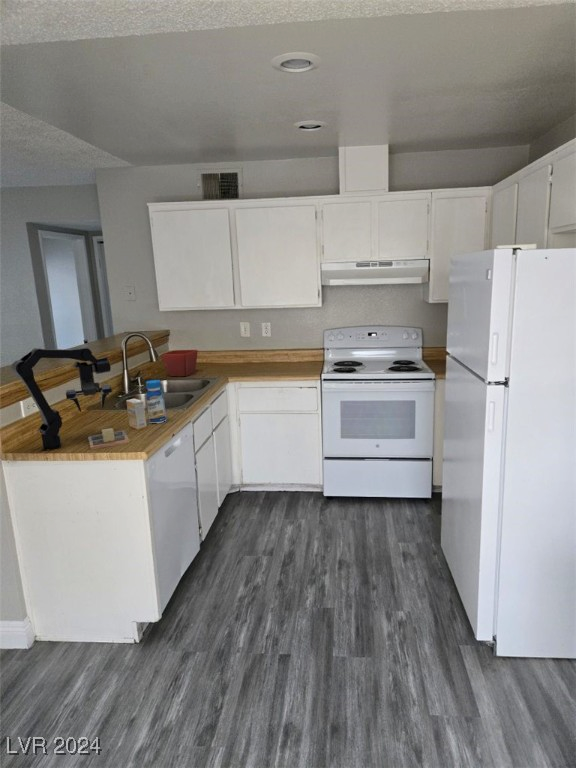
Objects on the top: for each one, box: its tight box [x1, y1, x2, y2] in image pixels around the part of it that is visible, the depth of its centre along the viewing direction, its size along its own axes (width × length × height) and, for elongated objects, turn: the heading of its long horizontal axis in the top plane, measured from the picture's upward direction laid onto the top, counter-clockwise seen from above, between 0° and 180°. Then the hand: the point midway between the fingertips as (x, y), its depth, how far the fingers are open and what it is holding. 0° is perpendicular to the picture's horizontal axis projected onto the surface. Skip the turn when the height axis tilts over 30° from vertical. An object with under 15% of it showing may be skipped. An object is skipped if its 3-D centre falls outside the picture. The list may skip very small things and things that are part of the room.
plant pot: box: [160, 349, 198, 377], centre depth 358 cm, size 19×19×17 cm
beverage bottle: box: [145, 379, 167, 424], centre depth 241 cm, size 8×8×20 cm
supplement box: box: [125, 398, 147, 431], centre depth 235 cm, size 8×5×13 cm, turn 44°
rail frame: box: [87, 429, 130, 451], centre depth 218 cm, size 15×17×1 cm
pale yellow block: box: [101, 427, 116, 444], centre depth 214 cm, size 4×4×6 cm
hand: (91, 410), depth 224 cm, fingers open, 9 cm apart
